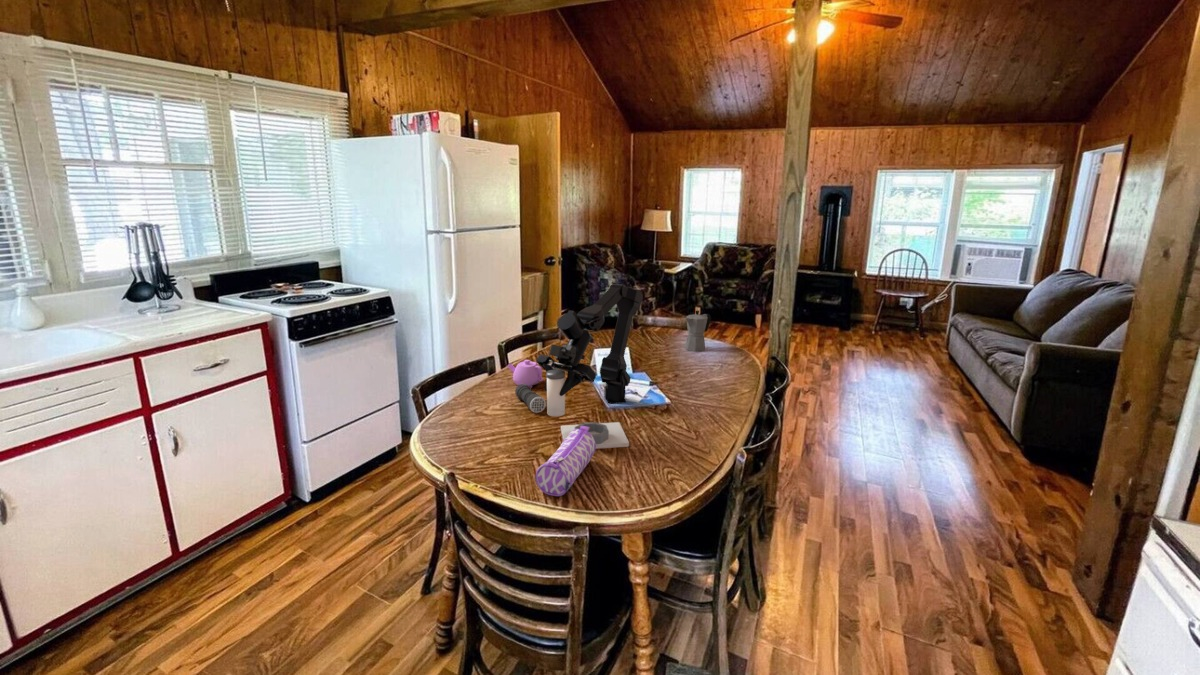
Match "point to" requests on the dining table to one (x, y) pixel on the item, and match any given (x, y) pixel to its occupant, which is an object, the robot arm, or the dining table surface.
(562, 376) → the canister
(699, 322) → the coffeepot
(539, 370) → the teapot
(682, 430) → the dining table surface
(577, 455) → the pencil case
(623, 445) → the socket plate
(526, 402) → the flashlight
